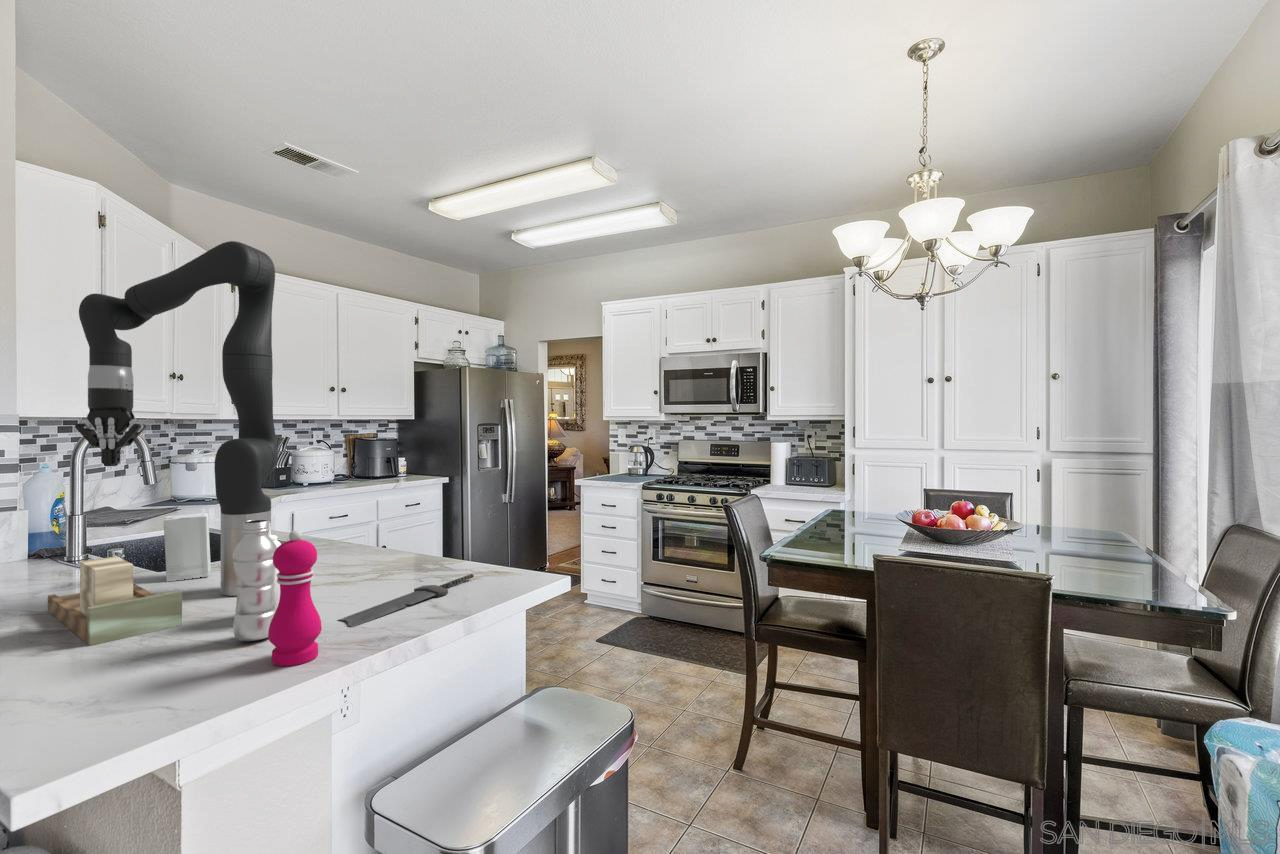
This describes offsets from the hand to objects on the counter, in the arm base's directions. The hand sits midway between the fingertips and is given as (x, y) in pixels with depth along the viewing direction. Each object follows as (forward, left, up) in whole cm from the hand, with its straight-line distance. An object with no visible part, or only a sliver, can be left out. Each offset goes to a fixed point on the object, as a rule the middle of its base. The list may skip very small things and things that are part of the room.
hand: (111, 466), depth 131 cm
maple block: (-18, +29, -25) cm, 42 cm away
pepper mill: (-56, +48, -27) cm, 79 cm away
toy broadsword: (-68, +18, -28) cm, 75 cm away
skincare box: (-11, -8, -27) cm, 30 cm away
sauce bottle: (-43, +26, -27) cm, 57 cm away
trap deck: (-14, +22, -27) cm, 38 cm away
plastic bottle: (-46, +38, -27) cm, 66 cm away
